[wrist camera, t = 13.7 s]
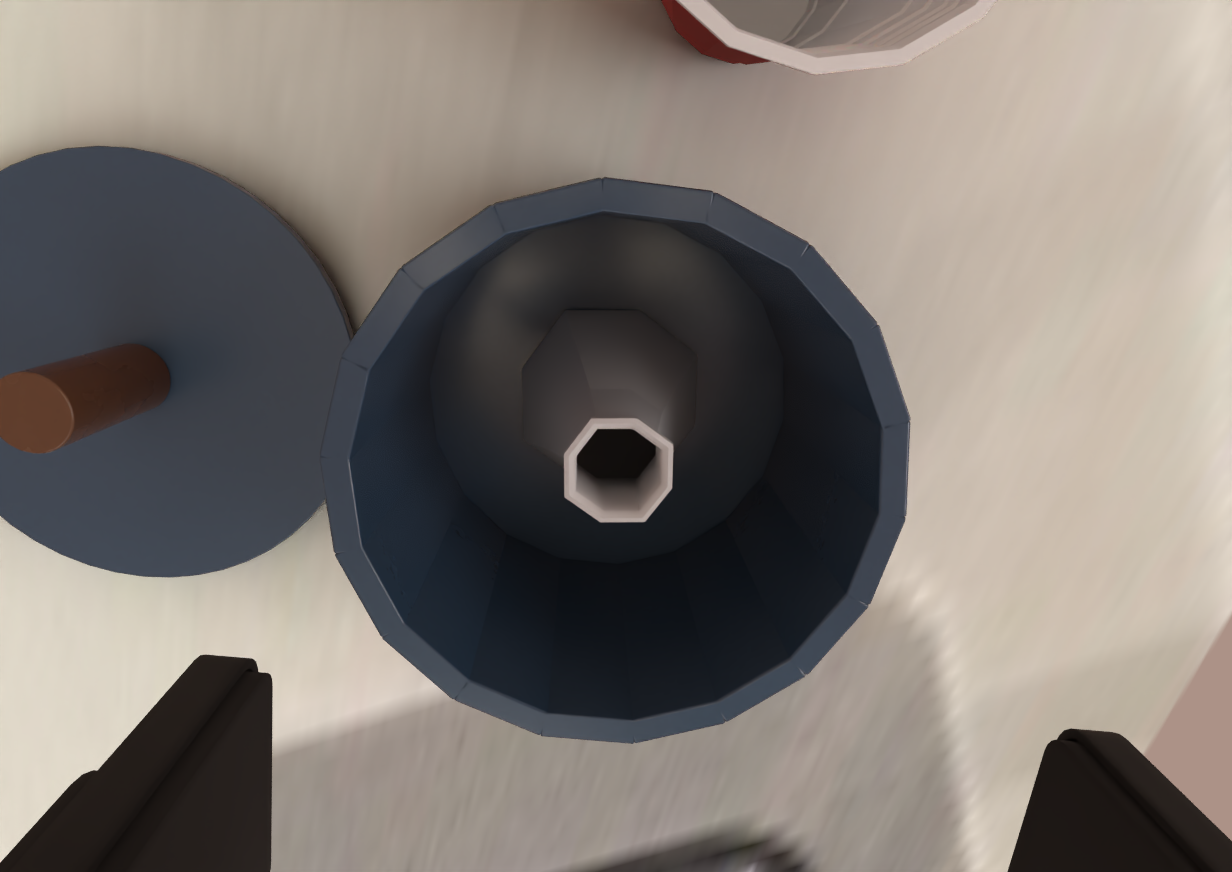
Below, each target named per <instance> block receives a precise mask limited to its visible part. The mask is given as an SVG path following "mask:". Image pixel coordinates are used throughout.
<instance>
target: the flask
mask: <svg viewBox="0 0 1232 872" xmlns="http://www.w3.org/2000/svg"><path fill="white" fill-rule="evenodd" d="M696 374H697V354H696V353H694V352H693V351H692V350H690V349H689V348H688V347H687V346H685V345H684V344H683V343H681V342H680V341H679V340H677V339H676V338H675V337H673V336H672V335H671V334H670V333H668V332H667V331H666V330H664V329H663V328H662V327H660V326H659V325H658V324H657V323H655V322H654V321H653V320H651V319H650V318H649V317H647V316H646V315H645V314H644V313H642V312H641V311H640V310H565V311H564V312H563V314H562V315H561V316H560V318H559V319H558V320H557V322H556V323H555V325H554V326H553V327H552V329H551V330H550V331H549V333H548V334H547V335H546V337H545V338H544V339H543V341H542V342H541V344H540V345H539V346H538V348H537V349H536V350H535V352H534V353H533V354H532V356H531V357H530V358H529V360H528V361H527V362H526V364H525V365H524V367H523V368H522V403H523V440H525V441H526V442H527V443H529V444H530V445H532V446H533V447H534V448H536V449H537V450H539V451H540V452H542V453H543V454H544V455H546V456H547V457H549V458H550V459H551V460H553V461H554V462H556V463H557V464H559V465H560V466H561V467H563V468H564V497H565V498H566V499H568V500H569V501H571V502H572V503H573V504H575V505H576V506H578V507H579V508H581V509H582V510H583V511H585V512H586V513H588V514H589V515H591V516H592V517H593V518H595V519H596V520H598V521H599V522H645V521H646V520H647V519H648V517H649V516H650V515H651V514H652V513H653V511H654V510H655V509H656V508H657V506H658V505H659V504H660V503H661V501H662V500H663V499H664V498H665V497H666V495H667V494H668V493H669V492H670V490H671V489H672V479H673V452H674V451H675V450H676V448H677V447H678V446H679V445H680V443H681V442H682V441H683V440H684V438H685V437H686V436H687V435H688V433H689V432H690V431H691V430H692V428H693V427H694V426H695V405H696Z"/></svg>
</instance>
